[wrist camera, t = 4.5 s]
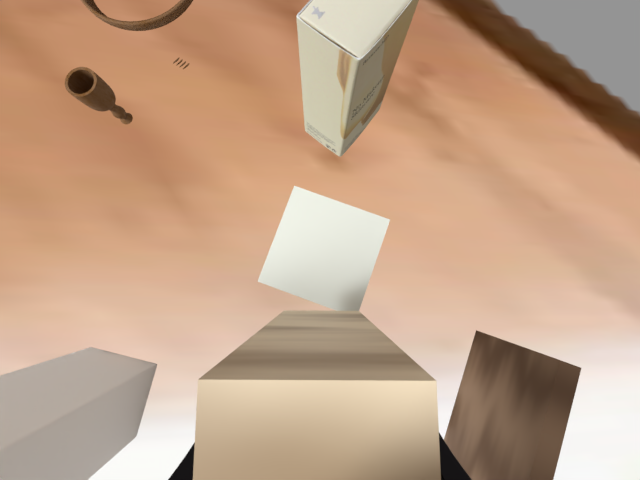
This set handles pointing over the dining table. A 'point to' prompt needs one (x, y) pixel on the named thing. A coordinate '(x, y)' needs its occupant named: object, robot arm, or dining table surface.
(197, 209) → the dining table surface
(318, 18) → the skincare box
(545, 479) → the screen
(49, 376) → the milk
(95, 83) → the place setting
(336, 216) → the mat
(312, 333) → the wooden block
